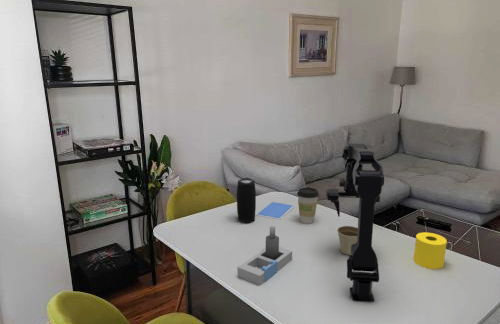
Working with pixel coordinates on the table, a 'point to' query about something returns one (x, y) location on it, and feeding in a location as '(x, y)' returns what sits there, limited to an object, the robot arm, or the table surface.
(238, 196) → the portable speaker
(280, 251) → the cinder block
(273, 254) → the plug
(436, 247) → the yellow toilet paper roll
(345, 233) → the flower pot
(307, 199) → the coffee cup
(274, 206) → the blue flat slab
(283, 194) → the table surface
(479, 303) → the table surface
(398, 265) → the table surface
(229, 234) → the table surface
